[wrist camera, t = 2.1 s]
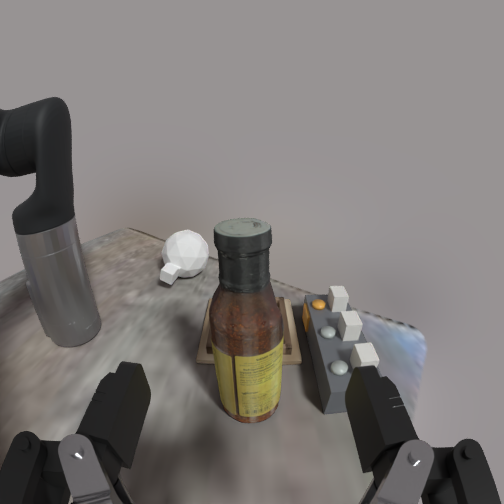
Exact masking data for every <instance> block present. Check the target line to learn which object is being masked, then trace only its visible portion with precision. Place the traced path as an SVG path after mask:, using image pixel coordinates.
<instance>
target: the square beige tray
mask: <svg viewBox="0 0 504 504" xmlns="http://www.w3.org/2000/svg"><path fill="white" fill-rule="evenodd" d="M275 299H276V303H277V306H278V308H279V310H280V312H281V314H282V318H283V325H284V339H283V358H282V365H292V364H301V363H302V359H301V354H300V348H299V343H298V338H297V332H296V327H295V322H294V317H293V312H292V307H291V302H290V299H284V297H275ZM211 301H212V299H209V304H208V308H207V312H206V317H205V321H204V326H203V330H202V335H201V339H200V344H199V349H198V353H197V358H196V362H197V363H206V364H215V363H214V356H213V349H212V342H211V326H210V320H209V308H210V304H211Z"/></svg>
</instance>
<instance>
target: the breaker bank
mask: <svg viewBox="0 0 504 504" xmlns="http://www.w3.org/2000/svg"><path fill="white" fill-rule="evenodd" d="M348 298H349V296H348V294H347V292H346V291H345V288H344V287H343V286H330V288H329V294H328V295H305V300H304V308H303V315H302V319H303V323H304V327H305V332H306V335H307V339H308V344H309V348H310V353H311V357H312V361H313V366H314V370H315V375H316V380H317V384H318V389H319V394H320V398H321V403H322V408H323V413H324V414H332V413H341V412H347V409H346V405H345V392H346V389H347V386H348V384H349V381H350V378H351V375H352V372H353V369H354V368H355V367H360V366H369V365H374V366H375V367H376V368H377V370H378V373H379V375H380V377H382V375H381V373H380V371H379V368H378V366H377V365H378V363H379V358H378V356H377V354H376V351H375V349H374V347H373V345H372V343H367V341H366V339H365V337H364V335H363V333H362V331H361V329H362V325H363V324H362V322H361V320H360V318H359V316H358V314H357V312H356V311H352V310H351V307H350V305H349V304H348Z"/></svg>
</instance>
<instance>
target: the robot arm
mask: <svg viewBox="0 0 504 504" xmlns="http://www.w3.org/2000/svg"><path fill="white" fill-rule="evenodd" d="M71 138H72V135H71V119H70V114H69V111H68V107H67V105H66V104H65V102H64V101H63V100H62V99H60V98H58V97H52V98H47V99H43V100H40V101H37V102H33V103H30V104H28V105H25V106H21V107H19V108H16V109H12V110H1V109H0V175H3V176H8V177H18V176H23V175H27V174H31V173H36V187H35V190H34V192H33V194H32V195H31V196H30V197H29V198H28V199H27V200H26V201H24V202H23V203H22V204H20V205H19V206H18V207H16V208H15V210H14V211H13V214H12V219H13V225H14V229H15V233H16V237H17V242H18V246H19V250H20V253H21V256H22V260H23V264H24V267H25V270H26V274H27V277H28V281H27V283H26V286H27V289H28V292H29V294H30V297H31V300H32V303H33V305H34V308H35V310H36V313H37V315H38V318H39V320H40V323H41V325H42V327H43V329H44V332H45V334H46V336H49V337H51V339H52V341H53V342H54V343H55V344H57V345H59V346H63V347H74V346H78V345H81V344H84V343H86V342H88V341H89V340H91V339H92V338H93V337H94V336H95V335H96V334H97V333H98V332H99V330H100V328H101V319H100V316H99V313H98V310H97V307H96V303H95V300H94V296H93V293H92V289H91V286H90V282H89V278H88V274H87V270H86V266H85V262H84V258H83V254H82V249H81V244H80V240H79V236H78V230H77V224H76V219H75V212H74V204H73V197H74V196H73V195H74V188H73V175H72V139H71ZM150 399H151V391H150V387H149V384H148V381H147V379H146V376H145V373H144V370H143V367H142V365H141V364H138V363H131V362H124V361H122V362H121V363H120V364H119V366H118V368H117V370H116V373H111V372H110V373H108V374H107V375H106V376H105V377H104V378H103V379H102V380H101V381H100V383H99V385H98V387H97V389H96V393H94V395H93V397H92V401H91V402H90V404H89V406H88V408H87V410H86V412H85V415H84V417H83V419H82V421H81V423H80V426H79V428H78V430H77V432H76V433H75V434H71V435H68V436H66V437H65V438H64V439H63V440H62V441H45V440H40V439H39V438H38V437H37V436H36V435H35V434H34V433H32V432H29V431H23V432H20V433H19V434H17V435H16V436H15V437H14V439H13V441H12V443H11V446H10V448H9V450H8V453H7V455H6V458H5V460H4V463H3V465H2V468H1V470H0V504H68V503H69V499H70V495H72V497H73V503H71V504H134V502H133V500H132V498H131V496H130V494H129V493H128V491H127V489H126V487H125V485H124V483H123V481H122V479H121V477H120V475H119V472H120V468H121V467H125V468H129V469H131V465H132V461H133V458H134V454H135V451H136V447H137V444H138V440H139V437H140V433H141V430H142V427H143V423H144V420H145V417H146V413H147V410H148V407H149V404H150ZM345 405H346V409H347V413H348V417H349V420H350V424H351V428H352V432H353V435H354V439H355V443H356V447H357V451H358V455H359V459H360V463H361V467H362V471H363V473H366V472H371V471H372V472H373V476H374V478H373V479H372V481H371V483H370V484H369V486H368V488H367V490H366V492H365V493H364V495H363V497H362V499H361V500H360V502H359V504H418V501H419V499H420V497H421V498H422V503H423V504H501V501H500V498H499V495H498V491H497V488H496V485H495V482H494V479H493V476H492V474H491V471H490V468H489V465H488V463H487V460H486V457H485V455H484V452H483V450H482V448H481V446H480V444H479V443H478V442H476V441H475V440H473V439H464V440H462V441H460V442H459V443H458V444H457V445H456V446H455V447H445V448H433V447H431V446H430V445H429V444H428V443H426V442H425V441H422V440H419V438H418V436H417V435H416V432H415V430H414V427H413V425H412V422H411V420H410V417H409V415H408V413H407V410H406V408H405V406H404V403H403V401H402V399H401V398H400V394H399V392H398V390H397V388H396V386H395V384H394V383H393V382H392V381H391V380H390V379H389V378H388V377H387V376H385V377H380V375H379V373H378V370H377V368H376V367H375V366H374V365H369V366H360V367H355V368H354V369H353V372H352V375H351V378H350V381H349V384H348V386H347V389H346V392H345Z"/></svg>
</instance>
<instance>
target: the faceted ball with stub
mask: <svg viewBox="0 0 504 504" xmlns="http://www.w3.org/2000/svg"><path fill="white" fill-rule="evenodd" d="M161 253H162V257H163V261H164V264H165V266H164V267H163V268H162V269H161V275H160V280H162V281H164V282H166V283H168V284H170V285H172V284H173V282H174V281H175V280H176V279H177V277H178V276H179V277H183V278H187V277H194V276H195V275H196V274H198V273H199V272H201V271H202V270H204V269H205V267H206V263H207V260H208V257H209V251H208V244H207V243H206V242H205V241H204V239H203V238H202V237H201V235H200V234H198V233H195V232H192V231H190V230H184V231H180V232H176V233H174V234H173V235H172V236H171V237H169V238H168V239H166V242H165V244H164V247H163V250H162V252H161Z"/></svg>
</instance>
